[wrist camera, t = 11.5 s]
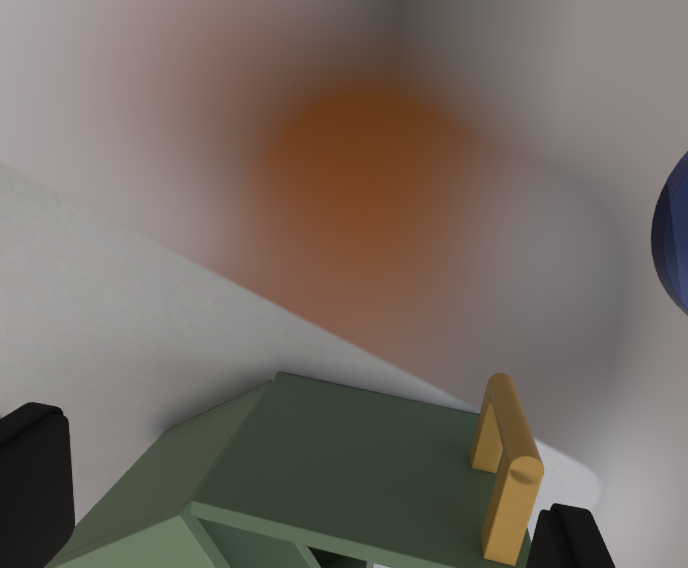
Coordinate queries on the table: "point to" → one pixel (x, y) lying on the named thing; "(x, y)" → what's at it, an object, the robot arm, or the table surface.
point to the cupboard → (182, 509)
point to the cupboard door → (381, 476)
